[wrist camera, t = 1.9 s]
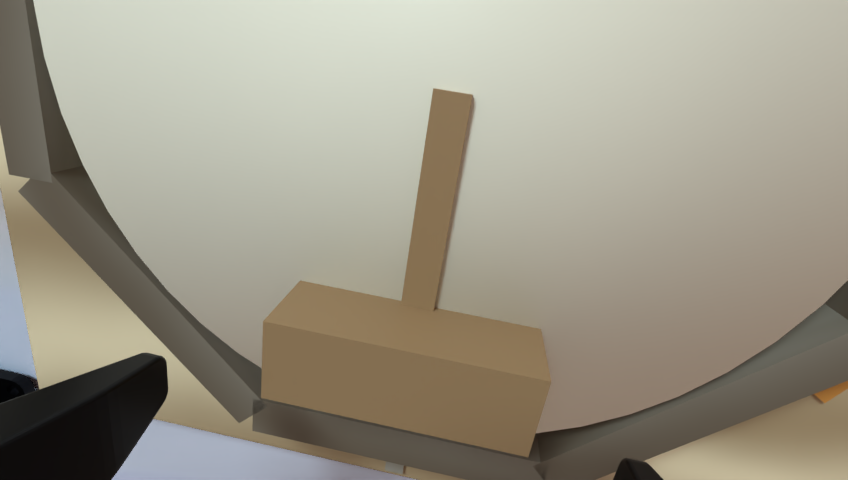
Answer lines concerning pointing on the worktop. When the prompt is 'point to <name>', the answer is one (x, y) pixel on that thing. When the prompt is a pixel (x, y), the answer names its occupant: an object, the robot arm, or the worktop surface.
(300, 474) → the worktop surface
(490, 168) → the dial
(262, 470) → the worktop surface
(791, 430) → the dial base
